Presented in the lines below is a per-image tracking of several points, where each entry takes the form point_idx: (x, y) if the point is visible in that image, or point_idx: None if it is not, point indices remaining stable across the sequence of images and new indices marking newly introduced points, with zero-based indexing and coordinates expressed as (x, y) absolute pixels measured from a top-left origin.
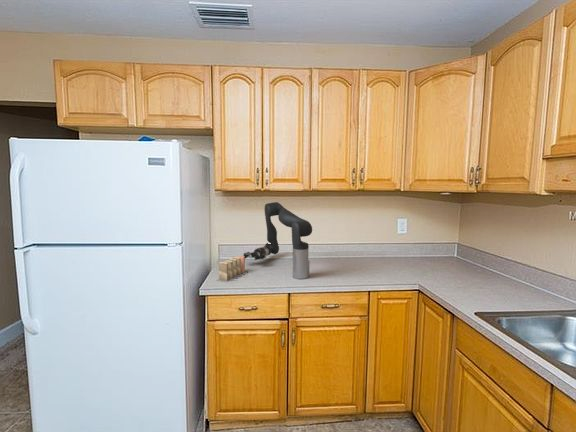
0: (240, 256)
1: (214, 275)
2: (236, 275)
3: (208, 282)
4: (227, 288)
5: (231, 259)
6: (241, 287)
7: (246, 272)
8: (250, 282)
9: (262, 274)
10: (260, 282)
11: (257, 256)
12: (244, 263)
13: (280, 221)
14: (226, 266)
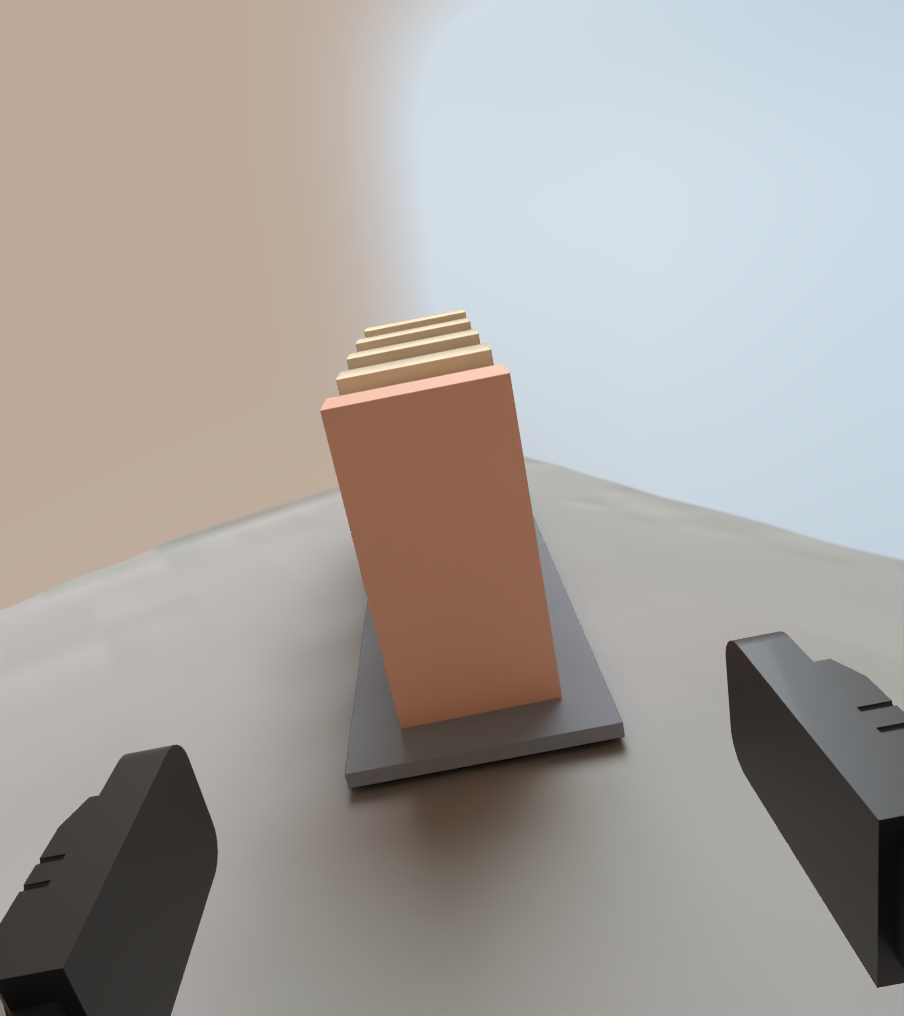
0: (403, 385)
1: (733, 530)
2: None
3: (562, 469)
4: (318, 494)
5: (424, 340)
6: (216, 535)
7: (366, 737)
8: (167, 607)
9: (24, 877)
10: (45, 649)
11: (69, 888)
12: (359, 557)
13: None
14: None
